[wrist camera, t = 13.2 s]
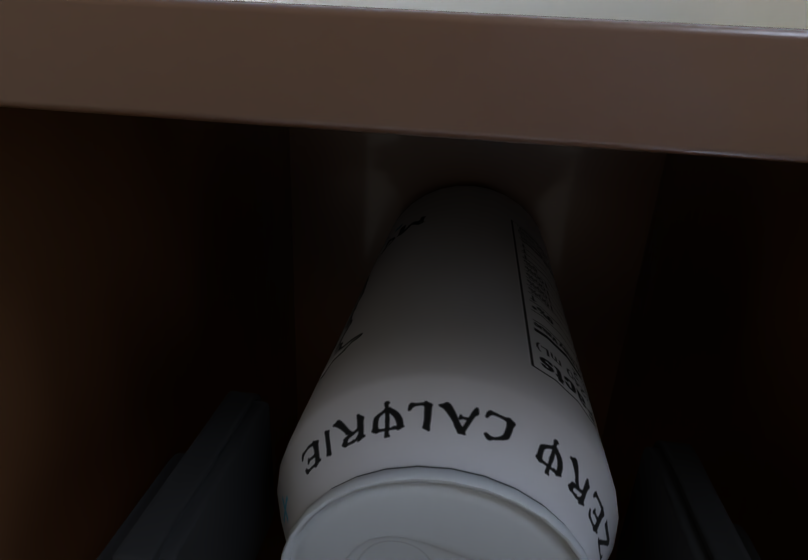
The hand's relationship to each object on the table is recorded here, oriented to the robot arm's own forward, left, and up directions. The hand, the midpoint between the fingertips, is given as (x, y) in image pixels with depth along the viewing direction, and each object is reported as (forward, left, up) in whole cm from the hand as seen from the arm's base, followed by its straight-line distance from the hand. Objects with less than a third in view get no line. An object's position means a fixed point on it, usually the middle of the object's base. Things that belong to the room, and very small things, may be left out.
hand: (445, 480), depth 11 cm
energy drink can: (0, 0, -13) cm, 13 cm away
